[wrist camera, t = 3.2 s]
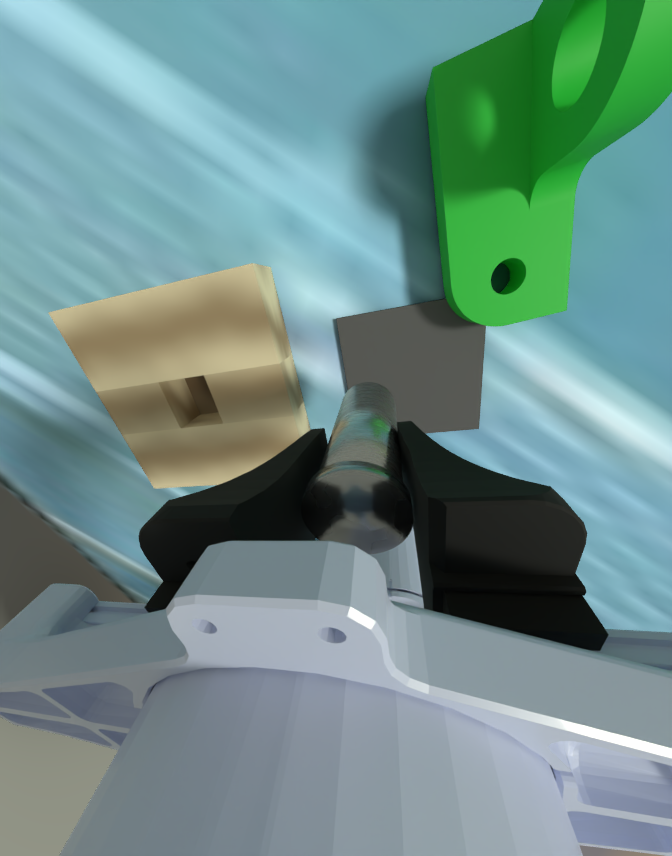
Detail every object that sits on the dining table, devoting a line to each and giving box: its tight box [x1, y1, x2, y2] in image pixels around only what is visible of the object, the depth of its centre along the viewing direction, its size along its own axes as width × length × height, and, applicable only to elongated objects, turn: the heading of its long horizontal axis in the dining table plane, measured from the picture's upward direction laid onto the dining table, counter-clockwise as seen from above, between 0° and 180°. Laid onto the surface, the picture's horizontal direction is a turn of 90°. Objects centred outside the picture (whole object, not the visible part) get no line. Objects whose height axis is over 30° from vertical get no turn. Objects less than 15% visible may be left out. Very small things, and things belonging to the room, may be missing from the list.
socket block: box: [49, 263, 310, 488], centre depth 22 cm, size 16×16×3 cm
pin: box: [301, 382, 414, 554], centre depth 11 cm, size 3×3×8 cm
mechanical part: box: [426, 0, 672, 326], centre depth 12 cm, size 12×6×8 cm, turn 16°
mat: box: [336, 299, 486, 433], centre depth 20 cm, size 10×10×1 cm
